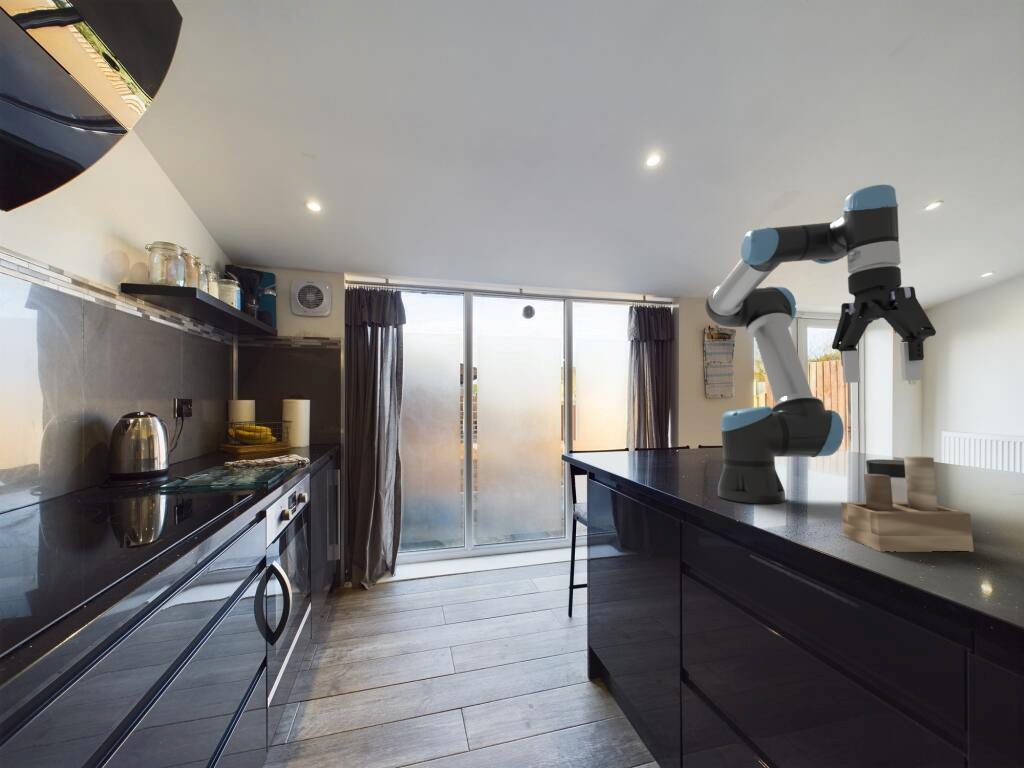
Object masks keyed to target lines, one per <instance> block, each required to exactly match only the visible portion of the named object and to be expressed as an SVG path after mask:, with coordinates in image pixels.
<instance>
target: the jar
mask: <svg viewBox="0 0 1024 768" xmlns="http://www.w3.org/2000/svg"><path fill="white" fill-rule="evenodd" d="M865 465H866V467H865V469H866V474H882V475H888V476H890V477H891V489H892V501H893V502H907V490H906V477H905V464H904V459H903V460H900V459H899V460H898V459H881V458H880V459H878V458H877V459H867V460H866V461H865Z"/></svg>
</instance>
